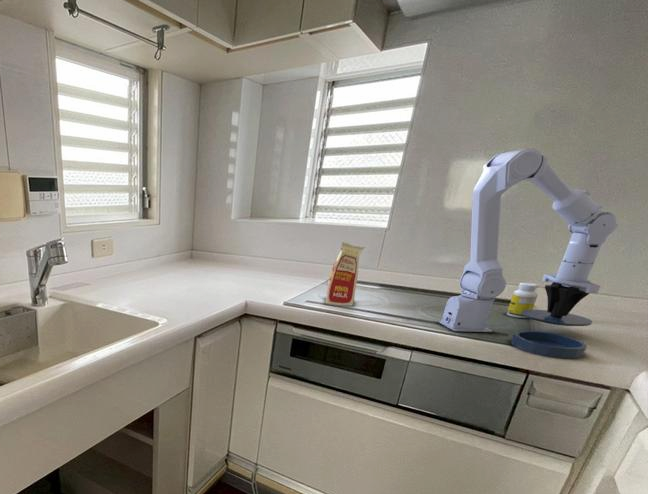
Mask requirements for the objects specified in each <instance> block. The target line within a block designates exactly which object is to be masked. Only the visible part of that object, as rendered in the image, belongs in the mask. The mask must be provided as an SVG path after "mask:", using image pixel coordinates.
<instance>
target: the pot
mask: <svg viewBox="0 0 648 494" xmlns="http://www.w3.org/2000/svg"><path fill="white" fill-rule="evenodd" d="M511 345H512V346H513V347H515V348H517V349H520V350H522V351H524V352H527V353H531V354H534V355H540V356H544V357H550V358H556V359H569V360H570V359H572V360H573V359H580V358H582V357H583V355H584V354H585V352H586V351H587V350H586V349H587V348H588V344H587V343H585V342H584V341H581V340H580V339H579V340H578V339H577V338H573V337H569V336H567V335H563V334H559V333H558V334H557V333H552V332H548V331H547V332H545V331H539V330H538V331H537V330H520V331H516V332H514V334H513V336H512V338H511Z"/></svg>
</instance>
